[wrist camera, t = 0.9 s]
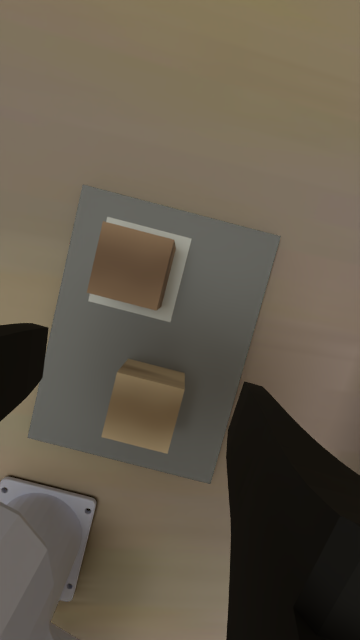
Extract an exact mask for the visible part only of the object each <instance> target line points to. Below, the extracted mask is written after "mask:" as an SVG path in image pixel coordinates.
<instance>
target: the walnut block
mask: <svg viewBox="0 0 360 640" xmlns="http://www.w3.org/2000/svg"><path fill="white" fill-rule="evenodd" d="M175 250H176V246H175V241H174V240H173V239H169V238H166V237H162V236H158V235H154V234H150V233H146V232H143V231H139V230H135V229H131V228H127V227H123V226H120V225H116V224H112V223H108V222H104V221H103V223H102V227H101V232H100V236H99V241H98V245H97V249H96V254H95V258H94V263H93V267H92V272H91V276H90V280H89V285H88V289H87V293H90V294H94V295H98V296H101V297H105V298H109V299H113V300H117V301H121V302H125V303H129V304H132V305H136V306H140V307H144V308H148V309H152V310H156V311H157V310H158V309H159V308H161V306H162V302H163V298H164V294H165V290H166V286H167V282H168V278H169V274H170V270H171V266H172V262H173V258H174V254H175Z"/></svg>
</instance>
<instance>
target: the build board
mask: <svg viewBox="0 0 360 640" xmlns="http://www.w3.org/2000/svg"><path fill="white" fill-rule="evenodd" d="M103 221H104V222H108V223H112V224H116V225H120V226H123V227H127V228H131V229H135V230H139V231H143V232H146V233H150V234H154V235H158V236H162V237H166V238H169V239H173V240H174V241H175V246H176V250H175V254H174V258H173V262H172V266H171V270H170V274H169V278H168V282H167V286H166V290H165V294H164V298H163V302H162V306H161V308H159V309H158V310H157V311H156V310H152V309H148V308H144V307H140V306H136V305H132V304H129V303H125V302H121V301H117V300H113V299H109V298H105V297H101V296H98V295H94V294H90V293H87V289H88V285H89V280H90V276H91V272H92V267H93V263H94V258H95V254H96V249H97V245H98V241H99V236H100V232H101V227H102V223H103ZM280 237H281V236H278V235H274V234H270V233H266V232H262V231H258V230H255V229H251V228H247V227H243V226H239V225H236V224H232V223H228V222H224V221H220V220H216V219H213V218H209V217H205V216H201V215H197V214H194V213H190V212H186V211H182V210H178V209H174V208H171V207H167V206H163V205H159V204H155V203H152V202H148V201H144V200H140V199H136V198H132V197H129V196H125V195H121V194H117V193H113V192H110V191H106V190H102V189H98V188H94V187H90V186H87V185H83V186H82V190H81V195H80V200H79V204H78V209H77V213H76V218H75V223H74V227H73V232H72V236H71V241H70V246H69V250H68V255H67V259H66V264H65V269H64V273H63V278H62V282H61V287H60V291H59V296H58V301H57V305H56V310H55V314H54V319H53V324H52V328H51V333H50V337H49V342H48V347H47V351H46V356H45V362H44V371H43V378H42V379H41V381H40V383H39V388H38V392H37V397H36V402H35V406H34V411H33V415H32V420H31V425H30V429H29V434H28V438H31V439H34V440H38V441H42V442H46V443H50V444H54V445H58V446H62V447H66V448H70V449H74V450H78V451H82V452H86V453H90V454H94V455H98V456H102V457H106V458H109V459H113V460H117V461H121V462H125V463H129V464H133V465H137V466H141V467H145V468H149V469H153V470H157V471H161V472H165V473H169V474H173V475H177V476H181V477H184V478H188V479H192V480H196V481H200V482H204V483H208V484H210V483H211V480H212V476H213V473H214V469H215V466H216V462H217V459H218V455H219V452H220V448H221V445H222V441H223V438H224V434H225V431H226V427H227V423H228V420H229V416H230V413H231V409H232V406H233V402H234V399H235V395H236V392H237V388H238V385H239V381H240V378H241V374H242V371H243V367H244V364H245V360H246V357H247V353H248V350H249V346H250V343H251V339H252V336H253V332H254V329H255V325H256V322H257V318H258V315H259V311H260V307H261V304H262V300H263V297H264V293H265V290H266V286H267V283H268V279H269V276H270V272H271V269H272V265H273V262H274V258H275V255H276V251H277V248H278V244H279V241H280ZM127 359H132V360H136V361H140V362H143V363H147V364H151V365H155V366H159V367H163V368H167V369H171V370H175V371H179V372H182V373H185V390H184V394H183V398H182V402H181V405H180V409H179V413H178V417H177V420H176V424H175V428H174V432H173V435H172V439H171V443H170V447H169V450H168V454H166V453H162V452H158V451H154V450H150V449H147V448H143V447H139V446H135V445H131V444H127V443H123V442H119V441H115V440H111V439H107V438H103V437H101V436H102V432H103V428H104V424H105V420H106V416H107V412H108V407H109V403H110V399H111V395H112V391H113V387H114V383H115V379H116V374H117V372H118V370H119V369H120V368H121V367H122V366H123V364H124V363H125V362H126V361H127Z"/></svg>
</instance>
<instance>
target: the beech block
mask: <svg viewBox="0 0 360 640" xmlns="http://www.w3.org/2000/svg"><path fill="white" fill-rule="evenodd" d="M184 390H185V373H182V372H179V371H175V370H171V369H167V368H163V367H159V366H155V365H151V364H147V363H143V362H140V361H136V360H132V359H127V361H126V362H125V363H124V364H123V366H122V367H121V368H120V369H119V370H118V372H117V374H116V379H115V383H114V387H113V391H112V395H111V399H110V403H109V407H108V412H107V416H106V420H105V424H104V428H103V432H102V436H101V437H103V438H107V439H111V440H115V441H119V442H123V443H127V444H131V445H135V446H139V447H143V448H147V449H150V450H154V451H158V452H162V453H166V454H168V450H169V447H170V443H171V439H172V435H173V432H174V428H175V424H176V420H177V417H178V413H179V409H180V405H181V402H182V398H183V394H184Z"/></svg>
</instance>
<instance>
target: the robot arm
mask: <svg viewBox="0 0 360 640" xmlns="http://www.w3.org/2000/svg"><path fill="white" fill-rule="evenodd" d="M47 335H48V328H47V327H44V326H40V325H36V324H33V323H19V324H8V325H0V421H1V420H2V419H3V418H5V417H6V416H7V415H8V414H9V413H10V412H11V411H12V410H13V409H15V408H16V407H17V406H18V405H19V404H20V403H21V402H22V401H23V400H24V399H25V398H26V397H27V396H28V395H29V394H30V393H31V392H32V390H33V389H34V388H35V387H36V386H37V384H38V383H39V382H40V381H41V379H42V378H43V371H44V362H45V353H46V344H47ZM226 459H227V475H228V489H229V503H230V517H231V554H230V582H229V604H228V623H227V639H226V640H360V475H358V474H357V473H355V472H354V471H352V470H351V469H350V468H348V467H347V466H346V465H344V464H343V463H342V462H340V461H339V460H338V459H337V458H336V457H334V456H333V455H332V454H331V453H329V452H328V451H327V450H326V449H324V448H323V447H322V446H321V445H320V444H319V443H318V442H316V441H315V440H314V439H313V438H312V437H311V436H310V435H309V434H308V433H307V432H306V431H305V430H304V429H303V428H301V427H300V426H299V425H298V424H297V422H296V421H295V420H294V419H293V418H292V417H291V416H290V415H289V414H288V413H287V412H286V411H285V410H284V409H283V408H282V407H281V406H280V404H279V403H278V402H277V401H276V400H275V399H274V398H273V397H272V396H271V395H270V394H269V393H268V391H267V390H265V389H264V388H263V387H262V386H259V385H255V384H252V383H248V382H244V384H243V387H242V390H241V393H240V396H239V399H238V402H237V405H236V408H235V411H234V414H233V417H232V420H231V423H230V426H229V429H228V438H227V453H226ZM4 487H6V488H7V489H8V490H5V488H4ZM87 508H89V509H90V510H91V511H88V510H87ZM95 508H96V500H95V499H94V498H92V497H88V496H84V495H80V494H76V493H73V492H69V491H65V490H61V489H57V488H53V487H49V486H45V485H41V484H37V483H33V482H29V481H25V480H21V479H17V478H13V477H8V476H7V477H4V478H3V479H2V480H1V482H0V640H79V639H78V638H76V637H74V636H73V635H71V634H69V633H68V632H66V631H64V630H63V629H61V628H59V627H58V626H56V625H54V624H53V623H51V619H52V617H53V614H54V612H55V610H56V607H57V605H58V602H59V600H61V601H65V602H69V601H71V600H72V599H73V596H74V593H75V589H76V585H77V581H78V577H79V573H80V569H81V564H82V560H83V556H84V552H85V548H86V544H87V540H88V536H89V532H90V528H91V524H92V520H93V516H94V512H95ZM70 584H72V585H70Z"/></svg>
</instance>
